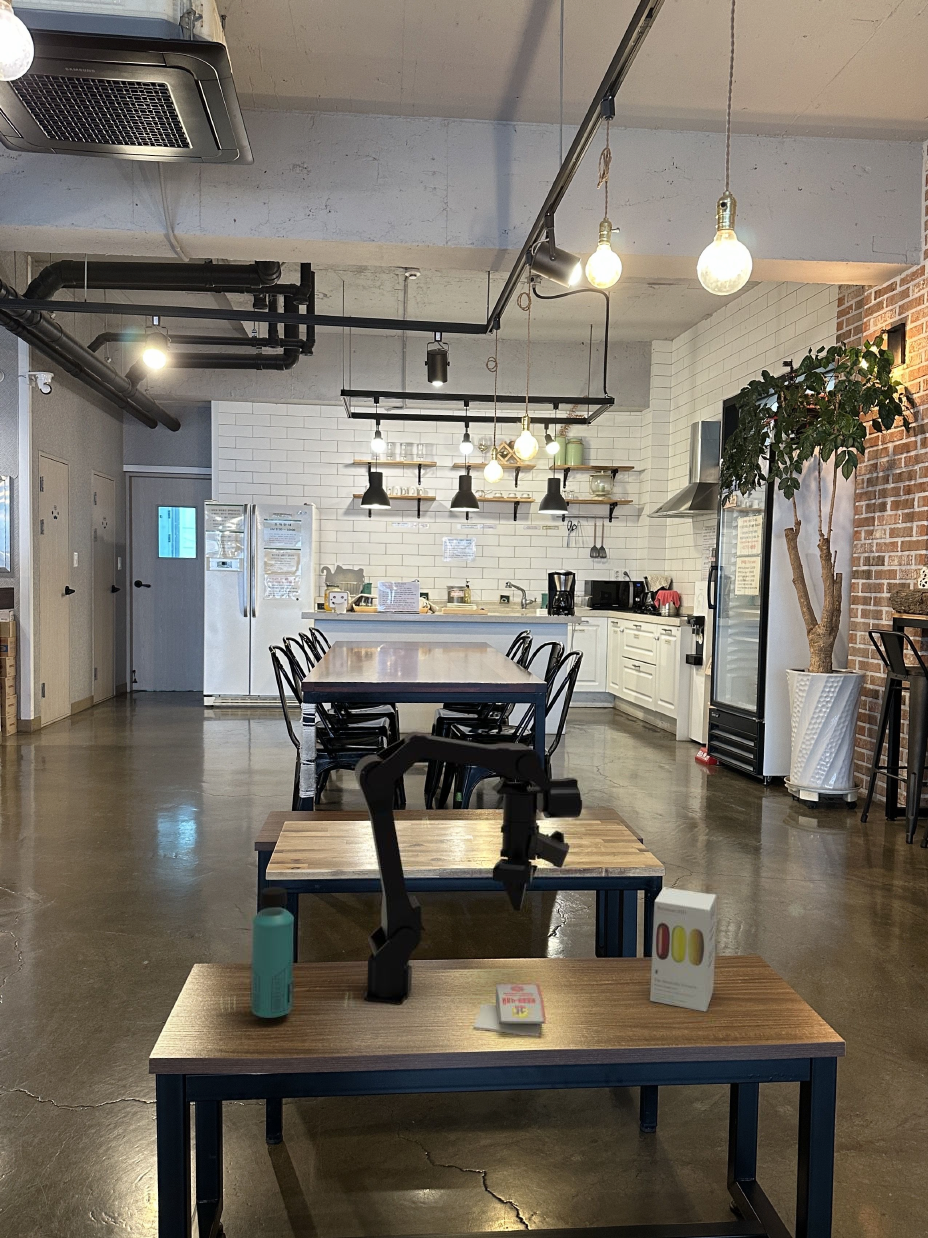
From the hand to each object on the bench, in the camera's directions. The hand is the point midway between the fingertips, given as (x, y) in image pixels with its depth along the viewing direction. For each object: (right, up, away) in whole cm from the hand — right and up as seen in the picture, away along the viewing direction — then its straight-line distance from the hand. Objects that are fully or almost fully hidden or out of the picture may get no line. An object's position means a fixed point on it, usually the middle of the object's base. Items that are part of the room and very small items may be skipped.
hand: (517, 910), depth 156 cm
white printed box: (-1, -11, -9) cm, 14 cm away
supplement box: (+28, -14, -2) cm, 31 cm away
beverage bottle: (-39, -12, -15) cm, 43 cm away
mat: (-2, -13, -13) cm, 19 cm away
